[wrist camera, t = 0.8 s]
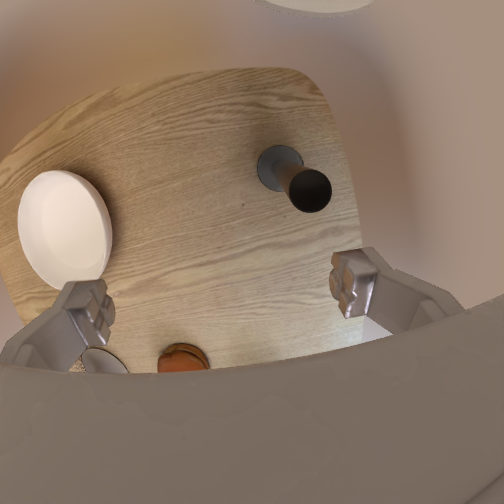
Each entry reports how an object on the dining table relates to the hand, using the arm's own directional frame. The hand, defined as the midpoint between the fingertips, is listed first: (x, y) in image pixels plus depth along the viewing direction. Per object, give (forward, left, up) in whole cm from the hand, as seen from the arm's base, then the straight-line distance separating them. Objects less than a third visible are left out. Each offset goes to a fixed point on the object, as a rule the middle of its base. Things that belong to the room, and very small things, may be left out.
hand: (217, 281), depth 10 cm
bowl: (+11, -27, -31) cm, 43 cm away
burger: (+34, -5, -31) cm, 46 cm away
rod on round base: (-3, +4, -31) cm, 31 cm away
